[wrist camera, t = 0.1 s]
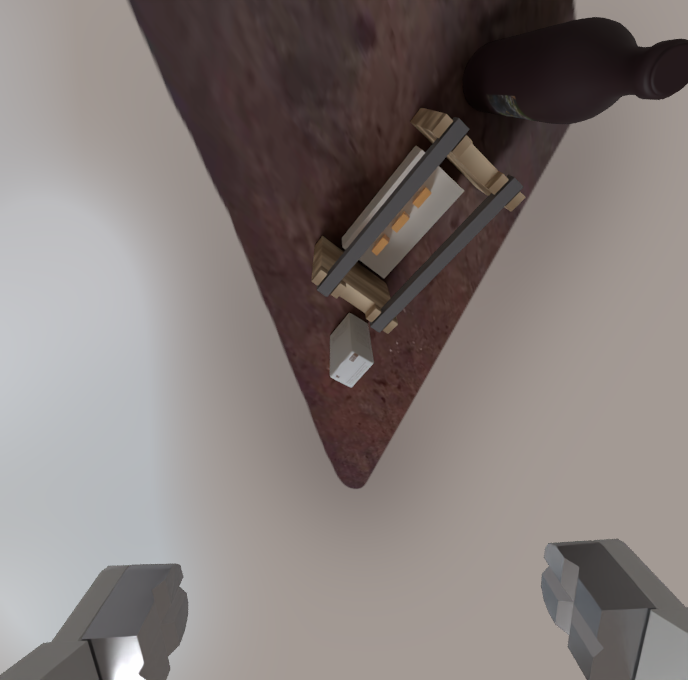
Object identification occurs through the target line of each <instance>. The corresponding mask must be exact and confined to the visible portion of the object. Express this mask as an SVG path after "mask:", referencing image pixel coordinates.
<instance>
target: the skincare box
mask: <svg viewBox="0 0 688 680" xmlns="http://www.w3.org/2000/svg"><path fill="white" fill-rule="evenodd" d="M373 363H374V361H373V354H372V347H371V341H370V334H369V328H368V324H367V323H366V322H364V321H363V320H361V319H360V318H358V317H356V316H355V315H353V314H351V313H348V315H347V316H346V317H345V318H344V320H343V321H342V322H341V323H340V324H339V326H338V327H337V328H336V329H335V330H334V332H333V333H332V334H331V335H330V377H331V378H333V379H335V380H337V381H339V382H341V383H343V384H345V385H347V386H349V387H353V385H354V384H355V383H356V382H357V381H358V380H359V379H360V378H361V377H362V375H363V374H364V373H365V372H366V371H367V370H368V369H369V368H370V367H371V366H372V364H373Z"/></svg>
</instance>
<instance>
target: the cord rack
mask: <svg viewBox="0 0 688 680" xmlns="http://www.w3.org/2000/svg"><path fill="white" fill-rule="evenodd" d="M410 122H411V123H412V124H413V125H414V126H415V127H416V128H417V129H418V130H419V131H420V132H421V133H422V134H423V135H424V136H425V137H426V138H427V139H428V140H429V141H430V142H431V143H432V144H433V143H434V141H435V140H436V139H437V138H440V137H441V135H442V134H443V133H444V132H445V131H446V129H447V128H448V127H449V126H450V124H451V123H452V122H453V120H452V119H451V118H450V117H449V116H448V115H447V114H445V113H441V112H437V111H433V110H429V109H425V108H420V110H419V111H418V112H417V113H416V115H415V116H414V117H413V119H412V120H411V121H410ZM472 142H473V141H472V140H471V139H470V138H469V137H468V136H467V135H464V136H463V138H462V139H461V140H460V141H459V142H458V144H457V145H456V146H455V147H454V148H453V149H452V151H451V152H450V153H449V154H448V155H447V156H446V158H447V159H448V160H449V161H450V162H451V163H452V164H453V165H454V166H455V167H456V168H457V169H458V170H459V171H460V172H461V173H462V174H463V175H464V176H465V177H466V178H467V179H468V180H469V181H470V182H471V183H472V184H473V185H474V186H475V187H476V188H478V189H479V190H481V191H482V192H483V193H485V194H486V195H488V196H489V195H490V194H491V193H492V194H494V195H495V194H496V193H497V192H498V191H499V190H500V189H501V188H502V187H503V185H504V184H505V183H506V182H507V181H508V180H509V179H508V178H507V177H506V176H505V175H504V174H503V173H501V172H499V171H498V170H497V169H496V168H495V167H494V166H493V165H492V164H491V163H490V162H489V161H488V160H487V159H486V158H485V157H484V156H483V155H482V154H481V152H480V151H479V150H478V149H477V148H476V147H475V146H474V145H473V144H472ZM524 198H525V196H524V195H523V194H522V193H521V192H520V191H519V192H518V193H517V194H516V195H515V196H514V197H513V198H512V199H511V200H510V201H509V202H508V203H507V204H506V205H505V206H504V207H505V208H506V209H508V210H509V211H512V210H513V209H514V208H515V207H516V206H517V205H518V204H519V203H520V202H521V201H522V200H523V199H524ZM343 253H344V251H342V250H341V249H340V248H338V247H337V246H336V245H334V244H333V243H332V242H330V241H329V240H328V239H326V238H325V237H324V236H322V237H321V238H320V240H319V241H318V242H317V244H316V245H315V249H314V260H313V271H312V282H313V283H315V284H316V285H317V286H318V285H319V284H320V283H321V282H322V280H323V279H324V278H325V277H326V275H327V273H328V271H329V270H330V268H331V267H332V266H333V265H334V264H335V262H336V261H337V260H338V259H339V257H340V256H341V255H342V254H343ZM331 295H332V296H334V297H335V298H336V299H337V298H338V297H339V296H341V297H342V298H343V299H345V300H346V301H348V302H349V303H351V304H352V305H354V306H355V307H357V308H358V309H359V310H361V311H362V312H364V313H365V315H366V319H367V320H369V321H370V322H373V321H374V320H375V319H376V318H377V317H378V316H379V315H380V314H381V308H382V307H383V306H384V305H385V304H386V303H387V302H388V301H389V300H390V299H391V298H390V294H389V291H388V287H387V284H386V283H385V282H384V281H382V280H381V279H380V278H378V277H377V276H376V275H374V274H373V273H372V272H370V271H369V270H368V269H366V268H365V267H364V266H362V265H361V264H360V263H358V262H356V264H355V265H354V266H353V267H352V268H351V269H350V271H349V272H348V273H347V274H346V275H345V276H344V278H343V279H342V280H341V281H340V282H339V284H338V285H337V286H336V287H335V288H334V289H333V291H332V292H331ZM397 325H398V322H397V319H396V316H395V317H394V318H393V319H392V320H391V321H390V322H389V323H388V324H387V326H386V327H385V328H384V329H383V331H385V332H386V333H388V334H389V333H390V332H391V331H392V330H393V329H394V328H395V327H396V326H397Z"/></svg>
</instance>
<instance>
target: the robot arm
mask: <svg viewBox="0 0 688 680" xmlns="http://www.w3.org/2000/svg"><path fill="white" fill-rule="evenodd" d="M544 558H545V560H546V561H547V563H548V565H549V567H548V568H547V569H546V570H545V571H544V572H543V573H542V581H541V588H542V593H543V598H544V602H545V604H546V607H547V610H548V612H549V614H550V616H551V618H552V619H553V621H554V623H555V624H556V625H557V626H558V627H559V628H561V629H562V630H563V631H564V632H566V633H567V634H568V635H569V641H568V648H569V650H570V651H571V653H572V655H573V657H574V658H575V660H576V662H577V663H578V665H579V667H580V669H581V670H582V672H583V674H584V676H585V677H586V679H587V680H688V608H686V607H685V606H684V605H683V604H682V603H681V602H680V601H679V600H678V599H677V598H676V596H675V595H674V594H673V593H672V592H671V591H670V590H669V589H668V588H667V587H666V586H665V585H664V584H663V583H662V582H661V581H660V580H659V579H658V577H657V576H656V575H655V574H654V573H653V572H652V571H651V570H650V569H649V568H648V567H647V566H646V565H645V564H644V563H643V562H642V561H641V560H640V559H639V557H637V555H636V554H635V553H634V552H633V551H632V550H631V549H630V548H629V547H628V546H627V545H626V544H625V543H624V542H622V541H620V540H619V539H606V540H594V541H575V542H560V543H548V545H547V546H546V548H545V554H544ZM182 578H183V574H182V570H181V566H180V565H179V564H143V565H123V566H108V567H107V568H106V569H104V570H103V571H102V572H101V573H100V574H99V575H98V577H97V578H96V580H95V581H94V582H93V584H92V585H91V587H90V588H89V590H88V591H87V592H86V594H85V595H84V597H83V598H82V599H81V601H80V602H79V604H78V605H77V606H76V608H75V609H74V611H73V612H72V614H71V615H70V616H69V618H68V619H67V621H66V622H65V623H64V625H63V626H62V628H61V629H60V630H59V632H58V633H57V635H56V636H55V638H54V639H53V640H52V642H49V643H43V644H41V645H40V646H39V647H37V648H36V649H35V650H33V651H32V652H31V653H29V654H28V655H27V656H25V657H24V658H23V659H21V660H20V661H18V662H17V663H16V664H14V665H13V666H12V667H10V668H9V669H8V670H6V671H5V672H4V673H2V674H1V675H0V680H166V679H167V676H168V674H169V671H170V665H169V660H168V656H169V655H170V654H171V653H172V652H173V651H174V650H175V649H176V648H177V647H178V646H179V645H180V642H181V640H182V637H183V634H184V631H185V627H186V622H187V617H188V599H187V593H186V592H185V591H184V590H182V589H181V588H180V587H179V585H180V583H181V581H182Z"/></svg>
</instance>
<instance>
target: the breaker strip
mask: <svg viewBox="0 0 688 680" xmlns="http://www.w3.org/2000/svg"><path fill="white" fill-rule="evenodd" d="M424 154H425V152H424V151H423V150H422V149H420V148H419V147H417V146H415V147H414V148H413V149H412V151H411V152H410V153H409V154H408V156H407V157H406V158H405V159H404V161H403V162H402V163H401V164H400V166H399V167H398V168H397V169H396V171H395V172H394V173H393V174H392V176H391V177H390V178H389V179H388V181H387V182H386V183H385V184H384V186H383V187H382V188H381V189H380V191H379V192H378V193H377V194H376V196H375V197H374V198H373V199H372V201H371V202H370V203H369V204H368V206H367V207H366V208H365V209H364V211H363V212H362V213H361V214H360V216H359V217H358V218H357V219H356V221H355V222H354V223H353V224H352V226H351V227H350V228H349V229H348V231H347V232H346V233H345V234H344V236H343V237H342V247H343V248H344V249H345V250H346V249H347V248H348V246H349V245H350V244H351V243H352V242H353V240H354V239H355V238H356V237H357V235H358V234H359V233H360V232H361V231H362V229H363V228H364V227H365V226H366V224H367V223H368V222H369V221H370V220H371V218H372V217H373V216H374V215H375V213H376V212H377V211H378V210H379V209H380V207H381V206H382V205H383V204H384V202H385V201H386V200H387V199H388V198H389V196H390V195H391V194H392V193H393V191H394V190H395V189H396V188H397V187H398V185H399V184H400V183H401V182H402V180H403V179H404V178H405V177H406V176H407V174H408V173H409V172H410V171H411V169H412V168H413V167H414V166H415V165H416V163H417V162H418V161H419V160H420V159H421V157H422V156H423V155H424ZM425 186H426V187H427V188H428V189H429V190H430V191H431V192H432V193H431V195H430V196H429V197H428V198H427V199H426V200H425V201H424V203H423V204H422V205H421V206H420V207H419V208H417V207H416V206H415V205H414V204H413V200H414V199H415V198H416V197H417V196H418V194H419V193H420V192H421V191H422V190H423V189H424V187H425ZM463 192H464V190H463V189H462V188H461V187H460V186H459V185H458V184H457V183H456V182H455V181H454V180H453V179H452V178H451V177H450V176H448V175H447V174H446V173H445V172H444V171H443V170H442V169H441V168H440V167H439V166H438V167H437V168H436V169H435V171H434V172H433V173H432V174H431V175H430V176H429V178H428V179H427V180H426V181H425V182H424V184H423V185H422V186H421V187H420V188H419V189H418V191H417V192H416V193H415V194H414V195H413V196H412V198H411V199H410V200H409V201H408V202H407V204H406V205H405V206H404V207H403V208H402V209H401V211H400V212H399V213H398V214H397V215H396V216H395V218H394V219H393V220H392V221H391V222H390V224H389V225H388V226H387V227H386V228H385V229H384V231H383V232H382V233H381V234H380V235H379V236H378V238H377V239H376V240H375V241H374V242H373V244H372V245H371V246H370V247H369V248H368V249H367V251H366V252H365V253H364V254H363V255H362V256H361V258H360V259H359V260H360V261H361V262H363V263H364V264H365V265H366V266H368V267H369V268H370V269H372V270H373V271H374V272H376V273H377V274H378V275H380V276H381V277H382V278H385V277H386V276H387V275H388V274H389V273H390V272H391V271H392V270H393V268H394V267H395V266H396V265H397V264H398V263H399V262H400V261H401V260H402V259H403V258H404V256H405V255H406V254H407V253H408V252H409V251H410V250H411V249H412V248H413V247H414V246H415V244H416V243H417V242H418V241H419V240H420V239H421V238H422V237H423V236H424V235H425V233H426V232H427V231H428V230H429V229H430V228H431V227H432V226H433V225H434V224H435V223H436V221H437V220H438V219H439V218H440V217H441V216H442V215H443V214H444V213H445V212H446V211H447V209H448V208H449V207H450V206H451V205H452V204H453V203H454V202H455V201H456V200H457V198H458V197H459V196H460V195H461V194H462V193H463ZM404 211H405V212H406V213H407V214H408V215H409V216H410V219H409V220H408V221H407V222H406V223H405V224H404V226H403V227H402V228H401V229H400V230H399V231H398V232H397V233H396V232H395V231H394V230H393V229H392V228H391V227H392V225H393V224H394V223H395V221H396V220H397V219H398V218H399V217H400V216H401V214H402V213H403V212H404ZM384 234H386V235H387V236H388V237H389V238H390V240H389V243H388V244H387V245H386V246H385V247H384V248H383V250H382V251H381V252H380V253H379V254H378V255H377V256H376V255H375V254H374V253H373V252H372V249H373V247H374V246H375V245H376V244H377V242H378V241H379V240H380V239H381V238H382V237H383V235H384Z"/></svg>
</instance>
